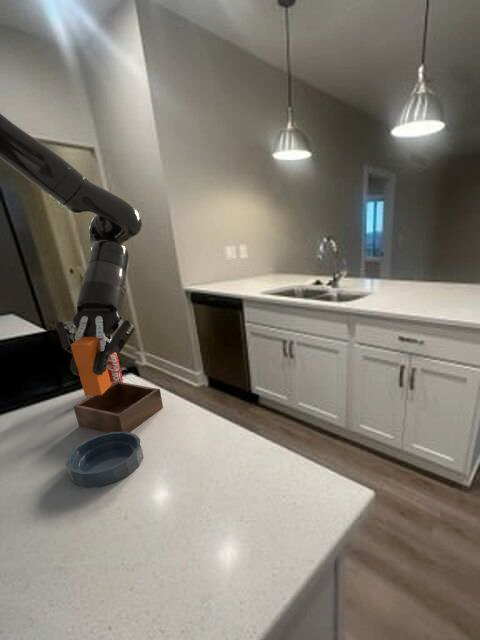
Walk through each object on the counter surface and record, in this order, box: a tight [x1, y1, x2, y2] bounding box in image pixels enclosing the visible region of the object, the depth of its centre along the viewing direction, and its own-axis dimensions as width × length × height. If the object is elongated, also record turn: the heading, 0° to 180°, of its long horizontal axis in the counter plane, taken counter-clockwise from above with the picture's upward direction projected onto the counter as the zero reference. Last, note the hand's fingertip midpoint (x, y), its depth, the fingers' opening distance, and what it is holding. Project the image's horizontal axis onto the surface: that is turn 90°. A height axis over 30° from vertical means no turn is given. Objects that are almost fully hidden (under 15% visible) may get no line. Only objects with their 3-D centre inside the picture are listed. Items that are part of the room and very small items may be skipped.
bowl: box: [65, 432, 144, 488], centre depth 65 cm, size 12×12×4 cm
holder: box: [72, 381, 164, 434], centre depth 79 cm, size 13×13×6 cm
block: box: [71, 337, 111, 397], centre depth 63 cm, size 4×3×10 cm
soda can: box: [107, 352, 124, 385], centre depth 91 cm, size 7×7×12 cm
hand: (87, 373), depth 61 cm, fingers closed on block, 3 cm apart
